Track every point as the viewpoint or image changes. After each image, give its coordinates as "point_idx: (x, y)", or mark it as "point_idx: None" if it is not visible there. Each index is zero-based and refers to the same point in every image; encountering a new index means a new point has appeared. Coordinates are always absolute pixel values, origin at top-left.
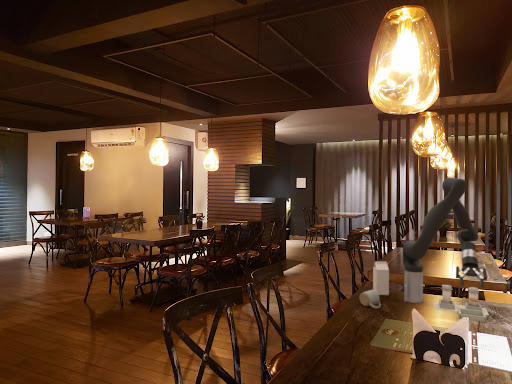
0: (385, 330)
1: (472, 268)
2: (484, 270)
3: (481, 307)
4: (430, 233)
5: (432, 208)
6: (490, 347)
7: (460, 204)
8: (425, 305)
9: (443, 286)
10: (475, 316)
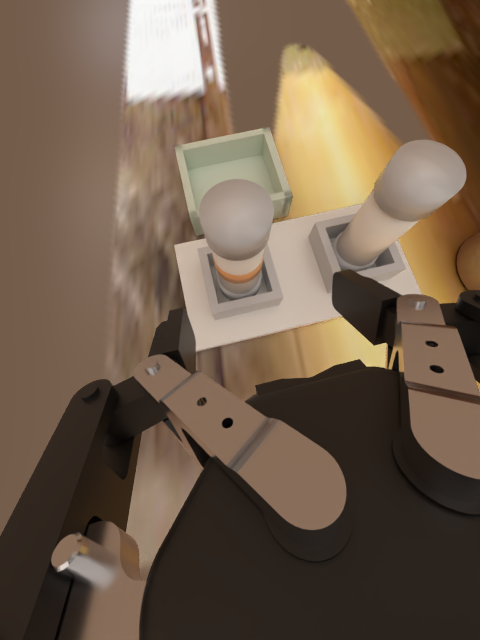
0: None
1: (362, 562)
2: (11, 582)
3: (200, 252)
4: None
5: None
6: (164, 19)
7: None
8: (433, 254)
9: (440, 148)
10: (213, 140)
